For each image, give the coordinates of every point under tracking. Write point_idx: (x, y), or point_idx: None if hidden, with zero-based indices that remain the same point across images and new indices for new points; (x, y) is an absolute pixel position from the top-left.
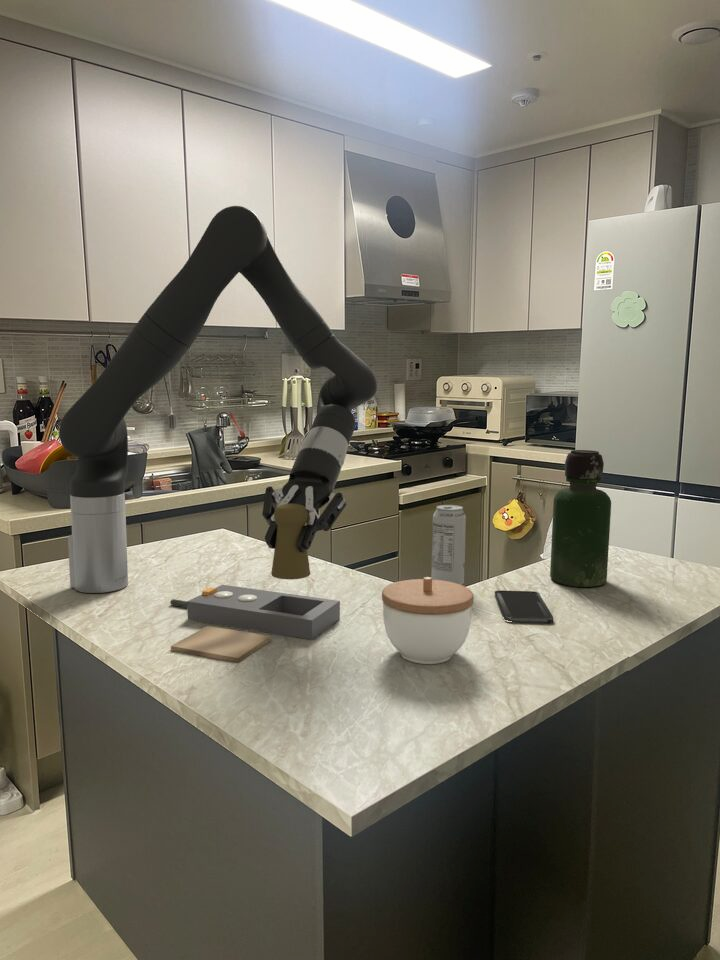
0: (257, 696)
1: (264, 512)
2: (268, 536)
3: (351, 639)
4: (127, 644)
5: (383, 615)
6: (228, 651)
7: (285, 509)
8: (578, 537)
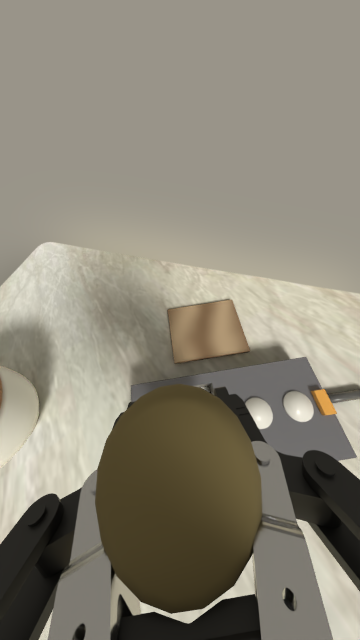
0: (124, 283)
1: (331, 464)
2: (226, 395)
3: (99, 415)
4: (269, 292)
5: (18, 384)
6: (183, 315)
7: (160, 396)
8: None
